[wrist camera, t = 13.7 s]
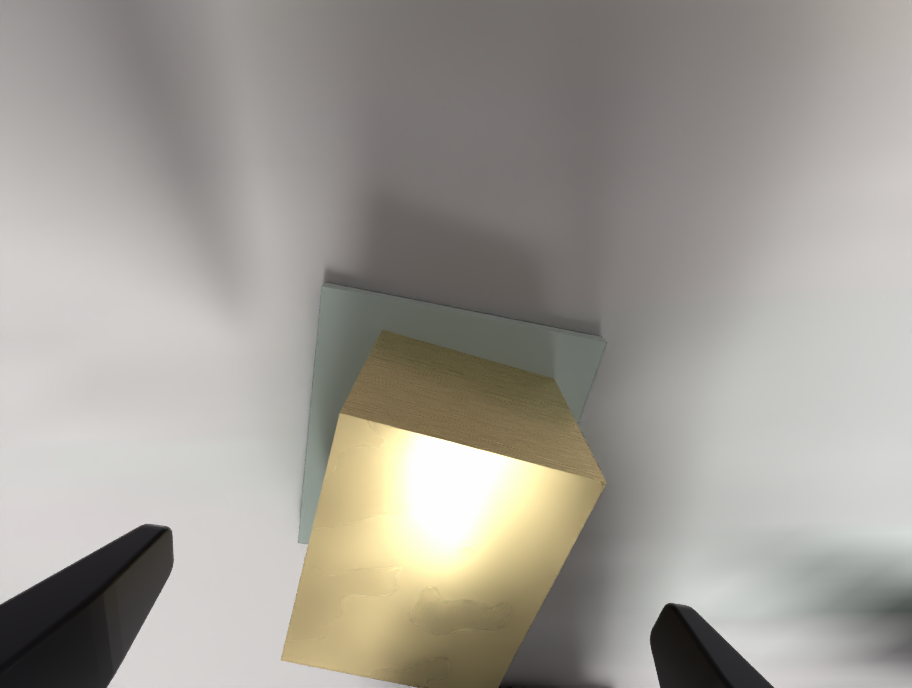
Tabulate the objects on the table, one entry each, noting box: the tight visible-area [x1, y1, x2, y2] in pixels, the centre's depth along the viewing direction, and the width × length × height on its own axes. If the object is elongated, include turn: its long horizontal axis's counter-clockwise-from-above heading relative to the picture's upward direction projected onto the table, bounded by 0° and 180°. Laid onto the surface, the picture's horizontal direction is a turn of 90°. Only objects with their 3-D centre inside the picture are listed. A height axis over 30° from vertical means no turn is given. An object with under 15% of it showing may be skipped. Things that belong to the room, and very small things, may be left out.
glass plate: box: [298, 283, 607, 544], centre depth 12 cm, size 8×7×1 cm
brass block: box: [281, 330, 607, 688], centre depth 10 cm, size 6×4×4 cm
